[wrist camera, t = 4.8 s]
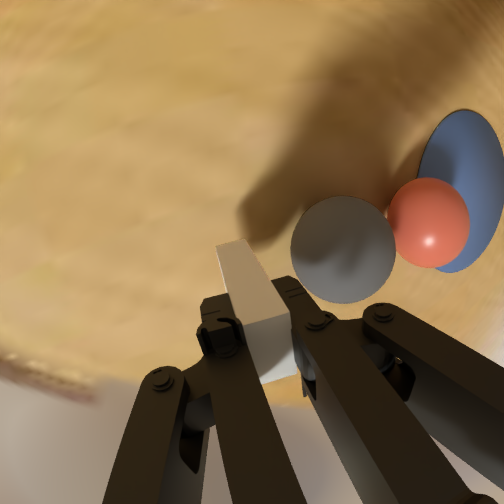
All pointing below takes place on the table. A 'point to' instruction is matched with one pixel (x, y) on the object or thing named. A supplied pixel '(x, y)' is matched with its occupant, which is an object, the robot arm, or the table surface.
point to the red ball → (429, 222)
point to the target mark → (468, 176)
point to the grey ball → (343, 249)
